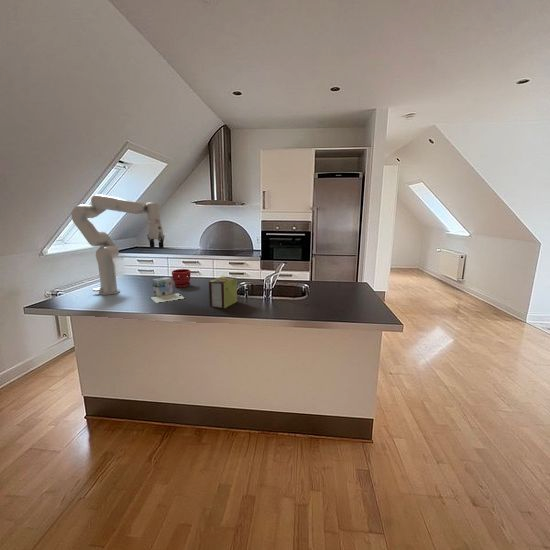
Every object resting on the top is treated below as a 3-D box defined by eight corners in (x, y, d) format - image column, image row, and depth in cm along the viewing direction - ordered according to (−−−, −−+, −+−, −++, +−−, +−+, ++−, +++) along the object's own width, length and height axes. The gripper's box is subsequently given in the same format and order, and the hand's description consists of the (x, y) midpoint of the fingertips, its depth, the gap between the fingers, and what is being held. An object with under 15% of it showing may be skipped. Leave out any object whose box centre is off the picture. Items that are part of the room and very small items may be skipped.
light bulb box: (158, 296, 190) (157, 280, 188) (153, 295, 194) (151, 279, 192) (173, 293, 198) (172, 277, 197) (167, 292, 202) (166, 277, 201)
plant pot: (176, 283, 227) (175, 268, 224) (193, 284, 226) (192, 269, 224) (169, 288, 214) (168, 272, 211) (187, 288, 213) (186, 272, 211)
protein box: (237, 301, 184) (237, 277, 181) (224, 308, 170) (223, 282, 167) (223, 299, 188) (222, 275, 184) (209, 306, 174) (208, 281, 170)
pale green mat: (155, 303, 178) (155, 302, 177) (150, 297, 189) (150, 297, 189) (185, 298, 188) (185, 298, 188) (178, 293, 199) (178, 293, 199)
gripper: (167, 221, 191) (169, 247, 194) (151, 221, 200) (153, 246, 204) (157, 222, 185) (160, 249, 188) (141, 222, 194) (144, 247, 198)
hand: (156, 247), depth 196 cm, fingers open, 9 cm apart
